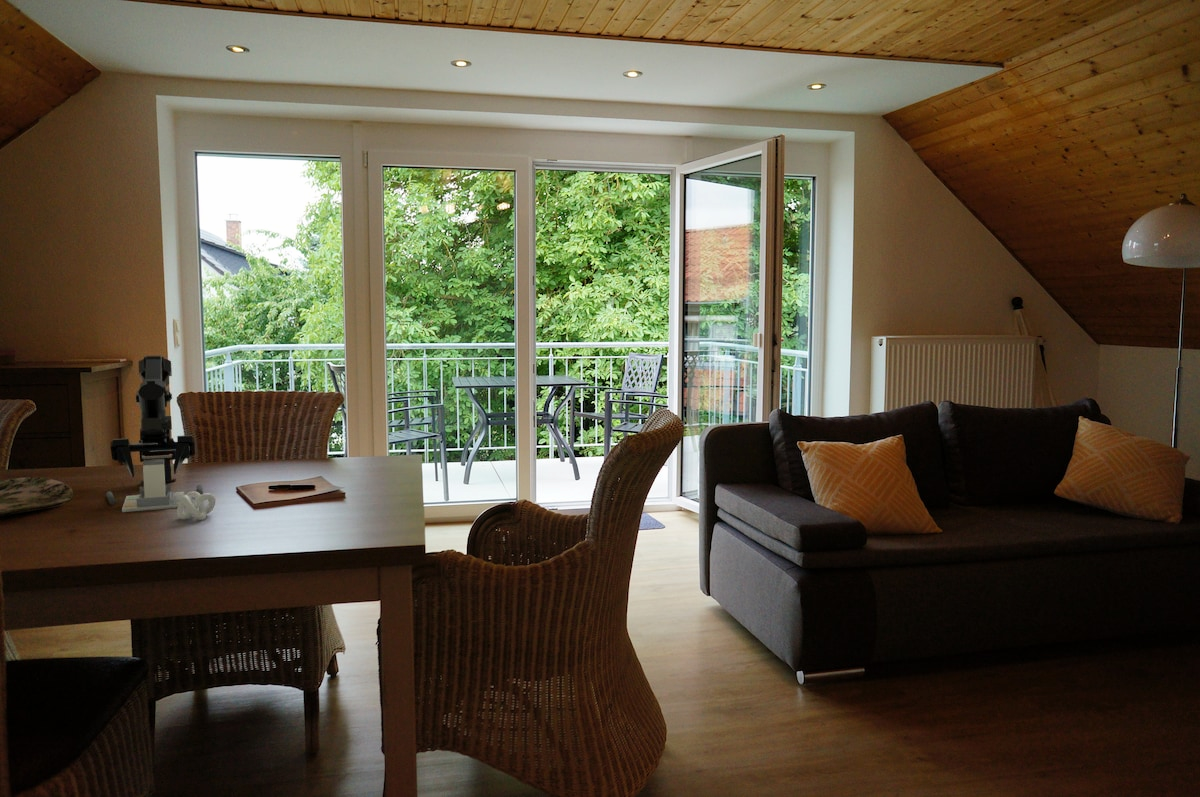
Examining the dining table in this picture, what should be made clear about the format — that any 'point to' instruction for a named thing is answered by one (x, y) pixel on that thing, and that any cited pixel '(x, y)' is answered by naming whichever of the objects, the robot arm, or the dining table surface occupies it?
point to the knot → (195, 505)
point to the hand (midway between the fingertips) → (154, 474)
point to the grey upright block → (154, 478)
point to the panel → (152, 501)
